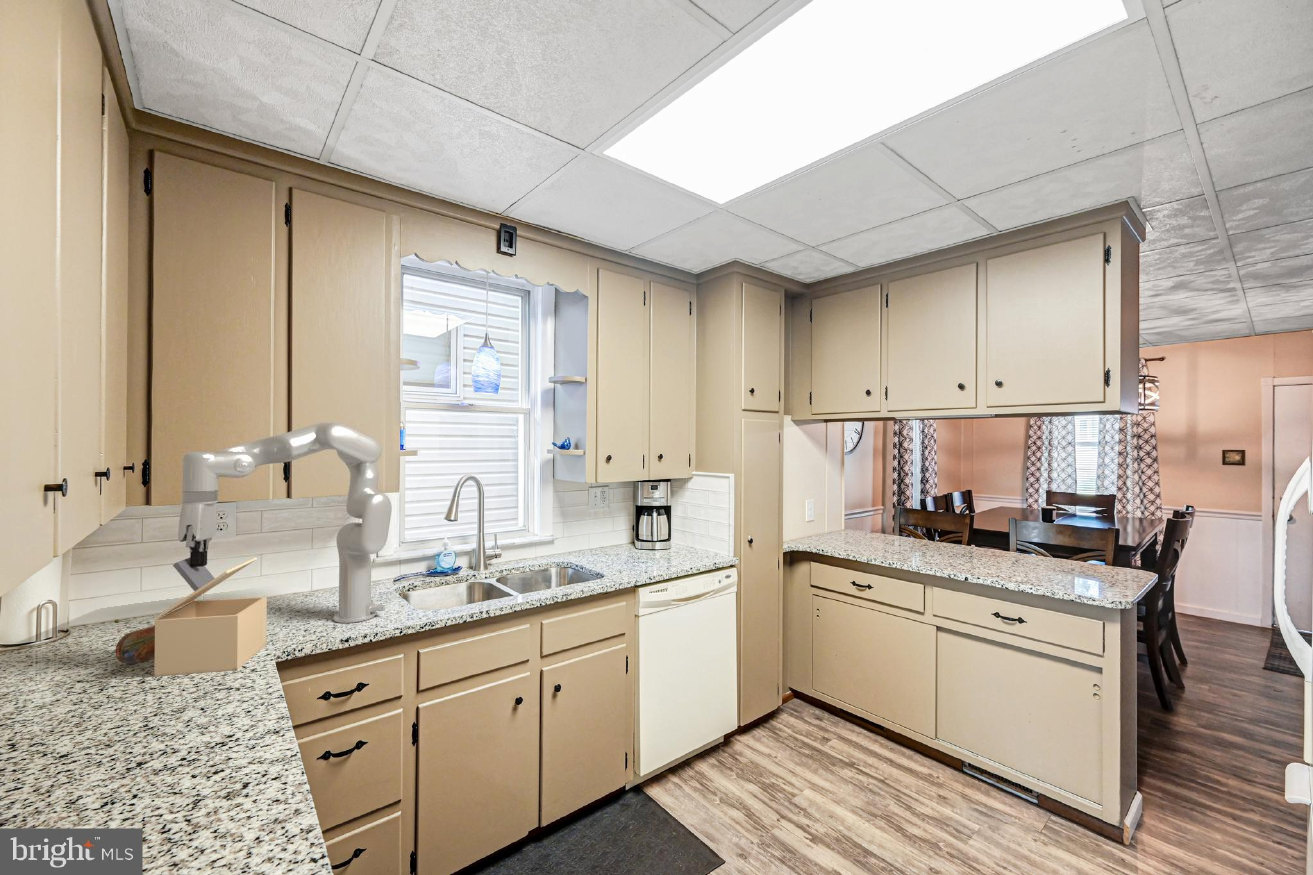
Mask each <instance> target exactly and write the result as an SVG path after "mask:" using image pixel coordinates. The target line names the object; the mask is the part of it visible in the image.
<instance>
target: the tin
mask: <svg viewBox="0 0 1313 875" xmlns="http://www.w3.org/2000/svg"><path fill="white" fill-rule="evenodd" d="M115 657H116V659H117V660H118V661H119V662H120V663H123V664H129V665H135V664H136V665H137V664H140V663H144V662H145V661H148V660H151V659H153V658H154V659H155V624H152V625H150V626H146V627H143V628H140V629H136V630H133V631H131V632H128V633H126V634H125V635H124V636H121V638H120V639H119V641H118V642H117V644H116V646H115Z"/></svg>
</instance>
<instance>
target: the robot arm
mask: <svg viewBox="0 0 1313 875" xmlns="http://www.w3.org/2000/svg"><path fill="white" fill-rule="evenodd" d="M326 450H335V451H336V454H337V456H338V457H339V459H340V460H341V461H342V462H343V463H344V464H345V465H346V466H347V469H348V471H349V473H350V477H349V478H350V479H349V486H348V492H347V498H346V499H347V500H346V506H345V510H346V513H347V514H348V515H349V517H351V518H354V519H358V520H359V519H360V520H361V522H349V523H346V524H344V525H343V526H342V527H341V528H339V530H338V532H337V535H336V548H337V553H338V562H339V563H338V564H339V565H338V566H339V567H338V568H339V569H338V570H339V571H338V572H339V573H338V612H337V613H336V614H334V615H333V621H334V622H335V623H341V624H345V623H346V624H349V623H359V622H363V621H367V620H370V619H372V618H374V617H375V616H376V614H377V612H384V611H385V610H386V606H385V604H382V603H381V604H380V603H378V604H376V603H374V600H372V557H371V555H376V554H378V553H379V552H381V551H382V550H383V549H384V547H385V546H386V543H387V540H388V537H389V536H388V535H389V529H390V524H391V518H392V517H391V516H392V502H391V499H390V498H389V497H388V495H387V494H385V493H383V492H381V491H378V485H379V470H378V467H377V465H376V463H375V462H377V461H378V460H379V459H381V456H382V452H383V451H382V446H381V444H380V443H379V441H378V440H376V439H374V438H373V437H371V436H369V435H366V434H364V433H363V432H361V431H358V430H356V429H354V428H352V427H350V426H348V425H346V424H342V423H339V422H319V423H315V424H312V425H308V426H305V427H301V428H298V429H295V430H291V431H288V432H285V433H284V432H283V433H281V434H278V435H271V436H268V437H265V438H262V439H258V440H253V441H249V442H245V443H242V444H238V445H237V444H236V445H234V446H231V447H227V448H223V449H220V450H218V451H214V452H213V451H190V452H186V453H185V454H184V455H183V457H182V481H181V482H182V484H181V485H182V486H181V489H182V492H181V505H182V506H181V509H180V514H179V523H178V533H177V534H178V535H177V536H178V537H177V539H178V541H179V542H180V543H181V542H182V543H183V542H185V547H186V548H188V549H189V553H190V554H189V558H190V566H191V567H203V566H205V567H206V566H207V565H208V551H209V545H210V542H211V541H212V539H213V537H215V536H216V535H217V530H218V524H217V523H218V515H217V504H216V503H218V502H219V501H218V500H219V497H218V496H219V478H230V479H240V478H245V477H248V476H249V475H251V474H252V473H253V472H254V471H255V469H256V467H259V466H264V465H271V464H282V463H288V462H292V461H295V460H299V459H300V458H304V457H307V456H310V455H313V454H316V453H320V452H322V451H326Z"/></svg>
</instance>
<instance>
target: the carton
mask: <svg viewBox="0 0 1313 875" xmlns="http://www.w3.org/2000/svg"><path fill="white" fill-rule="evenodd" d="M267 600H268V597H267V596H257V597H256V596H254V597H240V598H222V599H221V598H219V599H202V600H200V599H199V600H193V601H191V602H189V603H187V604H185V605H183V606H181V607H179V608H177V609H175V610H173V611H171V612H170V613H168V614H166V615H164V616H162V617H160V618H158V619H156V620H155V619H154V625H155V657H154V676H153V677H164V676H177V675H179V676H180V675H190V674H201V673H213V672H227V671H237V670H239V669H241V667H243V665H244V664H246V663H247V662H248V661H250V660H251V659H252V658H254V656H255V655H256V654H258V653H259V652H260V651H261V650H263V649H264V648H265V647H266V646H267V624H268V623H267V619H268V618H267V614H268V611H267V608H268V607H267V606H268V604H267V603H268V602H267Z"/></svg>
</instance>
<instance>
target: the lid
mask: <svg viewBox="0 0 1313 875" xmlns="http://www.w3.org/2000/svg"><path fill="white" fill-rule="evenodd" d="M256 560H258V558H257V557H253V558H251V559H249V560H247V561H245V562H243V563H241V564H239V565H237V566H235V567H233V568H232V567H231V569H228V570H226V571H224V572H222V573H221V574H220V575H218V576H217V577H214V575H212V573H211V572H210V571H209V570H208V568H207V567H206V565H205V566H203V567H191V566H190V557H188V558H187V557H186V559H183V560H180V561H177V562H175V563H173V564H172V566H173V568H174V569H175V570H176V571H177V572H178V574H180V576H181V577H182V578H183V580H184V581H185V582H186V583H187V585H188V586H189V587H190V588H191V589H192V591H193V592H191V593H190V594H188V595H187V596H185V597H183V598H182V599H181V600H179V601H178V602H176V603H174V604H173V605H172V606H170V607H168V608H167V609H166V610H164V611H163V612H161V613H159V614H157V615H156V616H154V617H153V619H154V621H155V620H157V619H159V618H161V617H163V616H165V615H167V614H169V613H171V612H173V611H175V610H177V609H179V608H181V607H183V606H185V605H187V604H188V603H190V602H192V601H196V600H197V599H198V598H200V597H201V596H202V595H204V594H206V593H207V592H209V591H210V590H212V589H213V588H215V587H216V586H218V585H219V584H221V583H223V582H225V580H227V579H229V578H230V577H232V576H233V575H235V574H237V573H239V571H241V570H243V569H244V568H246V567H248V565H251V564H252V563H253V562H255V561H256Z"/></svg>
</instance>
